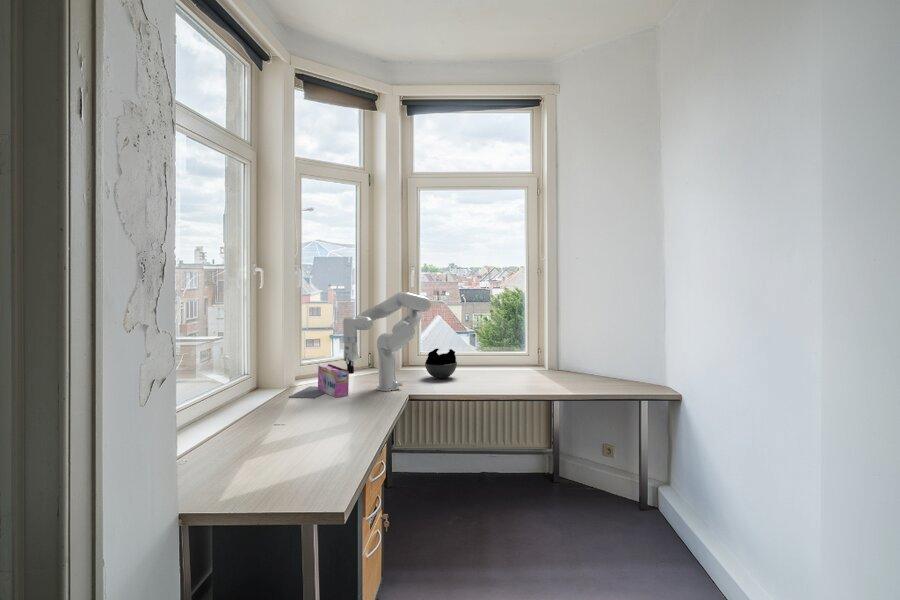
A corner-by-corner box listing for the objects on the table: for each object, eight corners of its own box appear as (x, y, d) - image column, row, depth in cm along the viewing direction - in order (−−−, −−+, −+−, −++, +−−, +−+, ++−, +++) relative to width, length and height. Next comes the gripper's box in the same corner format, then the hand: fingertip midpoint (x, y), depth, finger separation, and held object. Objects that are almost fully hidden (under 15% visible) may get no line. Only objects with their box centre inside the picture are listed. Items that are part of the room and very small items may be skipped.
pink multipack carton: (316, 388, 284) (316, 365, 283) (329, 387, 289) (329, 363, 288) (335, 397, 266) (335, 372, 265) (349, 395, 271) (349, 370, 270)
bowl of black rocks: (418, 378, 314) (418, 348, 313) (442, 374, 327) (442, 345, 326) (439, 383, 299) (439, 351, 298) (463, 378, 313) (463, 348, 312)
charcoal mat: (334, 388, 290) (334, 386, 290) (315, 398, 265) (315, 397, 265) (309, 387, 292) (309, 386, 292) (288, 397, 268) (288, 396, 268)
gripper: (351, 341, 266) (352, 376, 266) (361, 338, 280) (361, 371, 281) (338, 341, 267) (338, 375, 267) (348, 338, 282) (349, 370, 282)
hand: (350, 373), depth 274 cm, fingers closed
